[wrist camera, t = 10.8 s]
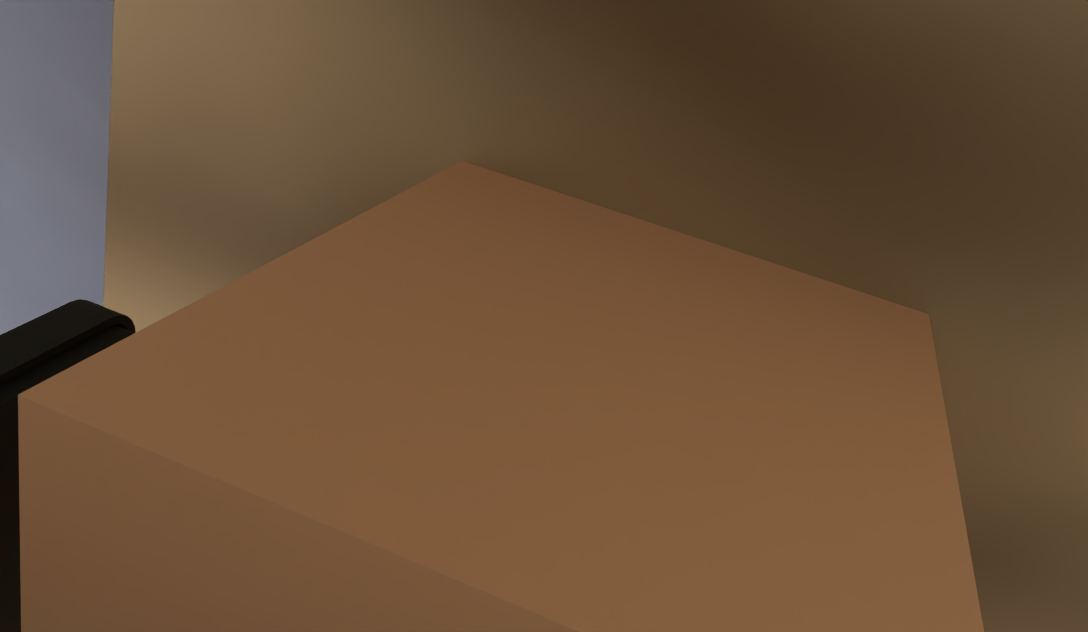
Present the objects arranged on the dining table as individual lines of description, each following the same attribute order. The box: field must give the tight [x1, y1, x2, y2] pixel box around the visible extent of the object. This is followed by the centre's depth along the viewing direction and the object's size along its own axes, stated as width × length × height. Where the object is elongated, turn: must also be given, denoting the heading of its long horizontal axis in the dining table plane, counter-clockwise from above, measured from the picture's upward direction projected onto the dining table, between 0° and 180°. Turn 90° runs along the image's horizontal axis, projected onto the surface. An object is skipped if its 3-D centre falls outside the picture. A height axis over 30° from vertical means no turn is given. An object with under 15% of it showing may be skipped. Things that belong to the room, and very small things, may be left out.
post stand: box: [103, 0, 1088, 632], centre depth 12 cm, size 16×18×8 cm
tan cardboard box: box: [18, 161, 984, 632], centre depth 10 cm, size 6×6×8 cm
